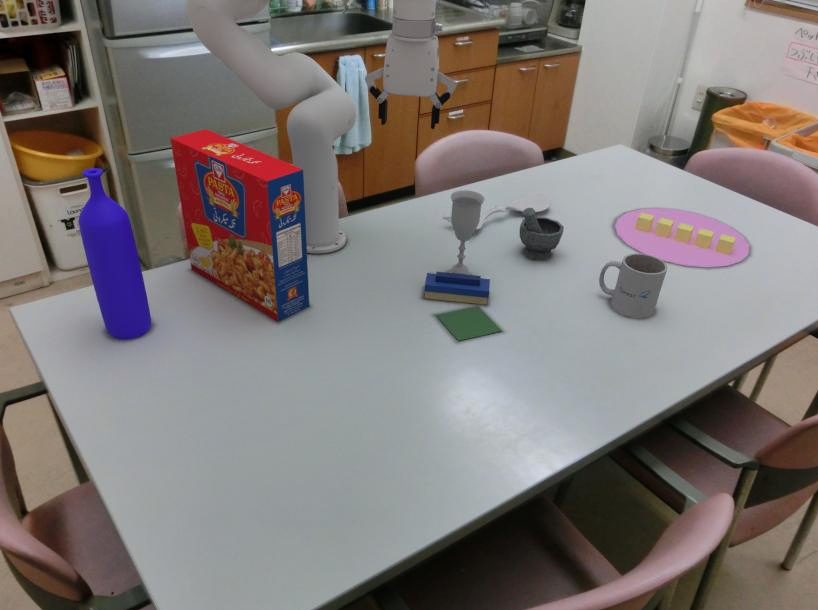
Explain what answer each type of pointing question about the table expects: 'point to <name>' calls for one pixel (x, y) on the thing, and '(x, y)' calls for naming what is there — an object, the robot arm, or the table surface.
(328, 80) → the robot arm
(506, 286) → the table surface
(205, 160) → the pasta box
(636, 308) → the mug
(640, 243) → the platter
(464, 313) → the green cloth
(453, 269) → the chalice
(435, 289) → the brush
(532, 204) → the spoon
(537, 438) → the table surface
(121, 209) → the bottle
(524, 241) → the mortar and pestle
